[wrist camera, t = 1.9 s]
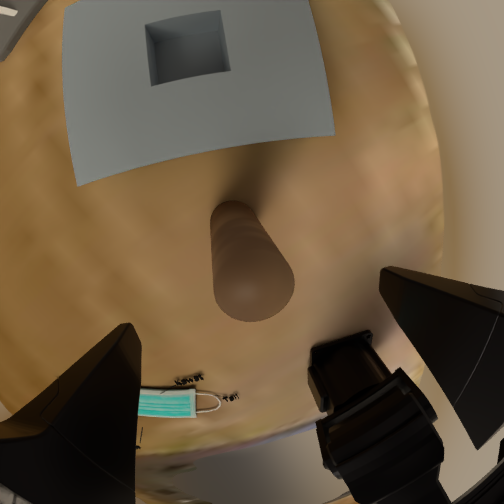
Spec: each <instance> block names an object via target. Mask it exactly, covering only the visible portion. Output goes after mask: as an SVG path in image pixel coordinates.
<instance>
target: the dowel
mask: <svg viewBox="0 0 504 504" xmlns="http://www.w3.org/2000/svg"><path fill="white" fill-rule="evenodd" d="M210 229H211V251H212V270H213V287H214V296H215V299H216V302H217V304H218V306H219V307H220V308H221V310H222V311H223V312H224V313H226V314H227V315H228V316H230V317H232V318H234V319H237V320H240V321H245V322H256V321H261V320H265V319H268V318H270V317H272V316H274V315H276V314H277V313H279V312H280V311H281V310H282V309H283V308H284V307H285V306H286V305H287V303H288V302H289V300H290V299H291V296H292V294H293V291H294V285H295V284H294V275H293V272H292V270H291V268H290V266H289V264H288V263H287V261H286V260H285V258H284V257H283V255H282V254H281V253H280V251H279V250H278V248H277V247H276V245H275V244H274V242H273V241H272V239H271V238H270V236H269V235H268V233H267V232H266V231H265V229H264V228H263V226H262V225H261V223H260V222H259V220H258V219H257V218H256V216H255V215H254V213H253V212H252V210H251V209H250V208H249V207H248V206H247V205H246V204H244V203H242V202H239V201H227V202H224V203H222V204H220V205H219V206H218V207H217V208H216V209H215V210H214V212H213V213H212V216H211V220H210Z"/></svg>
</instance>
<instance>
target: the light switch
mask: <svg viewBox="0 0 504 504" xmlns="http://www.w3.org/2000/svg"><path fill="white" fill-rule="evenodd" d="M47 1H48V0H0V62H2V61H4V60H5V58H6V57H7V56H8V55H9V54H10V53H11V51H12V50H13V48H14V47H15V45H16V43H17V42H18V40H19V39H20V37H21V36H22V34H23V33H24V31H25V30H26V28H27V27H28V25H29V24H30V23H31V21H32V20H33V19H34V17H35V16H36V15H37V13H38V12H39V11H40V9H41V8H42V7H43V6H44V4H45V3H46V2H47Z"/></svg>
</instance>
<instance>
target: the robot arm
mask: <svg viewBox="0 0 504 504" xmlns="http://www.w3.org/2000/svg"><path fill="white" fill-rule="evenodd" d="M379 292H380V294H381V296H382V298H383V299H384V301H385V303H386V304H387V306H388V308H389V309H390V311H391V313H392V315H393V316H394V318H395V320H396V321H397V323H398V325H399V326H400V327H401V329H402V330H403V332H404V333H405V334H406V336H407V337H408V339H409V340H410V342H411V343H412V344H413V346H414V347H415V349H416V350H417V352H418V353H419V355H420V356H421V358H422V359H423V361H424V362H425V364H426V365H427V366H428V368H429V370H430V371H431V373H432V374H433V376H434V377H435V379H436V380H437V382H438V384H439V385H440V387H441V388H442V390H443V392H444V393H445V395H446V396H447V398H448V400H449V401H450V403H451V405H452V406H453V408H454V410H455V412H456V414H457V415H458V417H459V419H460V421H461V422H462V424H463V426H464V428H465V429H466V431H467V433H468V435H469V437H470V439H471V441H472V443H473V445H474V446H475V448H476V449H477V450H479V449H480V448H481V447H482V446H483V445H484V444H485V443H487V442H488V441H489V440H490V439H491V438H492V437H493V436H494V435H495V434H496V433H497V432H498V431H499V430H500V429H501V428H502V427H503V426H504V291H502V290H496V289H491V288H486V287H482V286H477V285H473V284H468V283H465V282H460V281H456V280H452V279H447V278H443V277H439V276H434V275H430V274H426V273H421V272H417V271H412V270H408V269H403V268H399V267H394V266H388V267H384V268H382V269H381V271H380V281H379ZM367 335H368V336H367ZM372 337H373V334H372V332H371V331H370V330H367V331H364V332H361V333H358V334H355V335H352V336H349V337H346V338H343V339H340V340H337V341H334V342H330V343H327V344H324V345H320V346H317V347H314V348H312V349H311V351H310V366H309V368H308V385H309V387H310V390H311V392H312V394H313V397H314V399H315V401H316V404H317V406H318V408H319V411H320V412H322V413H323V412H327V414H328V416H327V417H325V418H323V419H320V420H318V421H316V427H317V429H316V431H317V436H318V440H319V445H320V449H321V454H322V458H323V466H324V468H325V469H328V470H330V471H331V472H332V473H333V475H334V476H335V477H337V478H338V479H343V480H344V481H345V483H346V485H347V486H348V488H349V490H350V492H351V494H352V496H353V498H354V500H355V501H356V502H358V503H359V504H504V438H503V439H502V440H501V441H500V449H499V455H498V462H497V465H496V466H495V467H494V468H493V469H492V470H491V471H490V472H489V473H487V475H485V476H484V477H483V478H482V479H481V480H480V481H478V482H477V483H476V484H475V485H474V486H473V487H472V488H470V489H469V490H468V491H466V492H465V493H464V494H463V495H461V496H460V497H459V498H457V499H456V500H455V501H454V502H452V503H451V501H450V500H449V498H448V496H447V494H446V492H445V491H444V489H443V487H442V485H441V483H440V482H439V480H438V478H439V472H440V465H441V463H442V462H443V461H444V447H443V442H442V439H441V438H440V436H439V434H438V432H437V431H436V429H435V427H434V426H433V424H432V423H433V422H435V421H436V420H437V419H438V417H437V415H436V412H435V411H434V409H433V407H432V405H431V404H430V402H429V401H428V399H427V398H426V397H425V395H424V394H423V393H422V391H421V390H420V389H419V388H418V387H417V386H416V384H415V383H414V382H413V381H412V380H411V379H410V378H409V377H408V375H407V374H406V373H405V372H404V371H403V370H402V369H401V368H400V367H399V368H398V369H396V370H395V372H394V373H393V374H392V373H391V372H390V371H389V369H388V368H387V367H386V365H385V364H384V362H383V361H382V360H381V358H380V357H379V356H378V354H377V353H376V352H375V350H374V349H373V348H372V346H371V343H372ZM141 353H142V346H141V341H140V339H139V337H138V335H137V333H136V331H135V328H134V326H133V325H132V324H131V323H123V324H120V325H118V326H117V327H116V328H115V329H114V330H112V331H111V332H110V333H109V334H108V335H107V336H105V337H104V338H103V339H102V340H101V341H100V342H98V343H97V344H96V345H95V346H94V347H93V348H91V349H90V350H89V351H88V352H87V353H86V354H85V355H83V356H82V357H81V358H80V359H79V360H78V361H77V362H75V363H74V364H73V365H72V366H71V367H70V368H69V369H67V370H66V371H65V372H64V373H63V374H62V375H61V376H60V377H59V378H58V379H56V380H55V381H54V382H53V383H52V384H51V385H49V386H48V387H47V388H46V389H45V390H44V391H43V392H41V393H40V394H39V395H38V396H36V397H35V398H34V399H33V400H32V401H30V402H29V403H28V404H26V405H25V406H24V407H23V408H21V409H20V410H19V411H18V412H16V413H15V414H14V415H13V416H11V417H10V418H8V419H7V420H5V421H2V422H0V504H135V492H134V491H135V456H136V435H137V421H138V409H139V399H140V389H141Z"/></svg>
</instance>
